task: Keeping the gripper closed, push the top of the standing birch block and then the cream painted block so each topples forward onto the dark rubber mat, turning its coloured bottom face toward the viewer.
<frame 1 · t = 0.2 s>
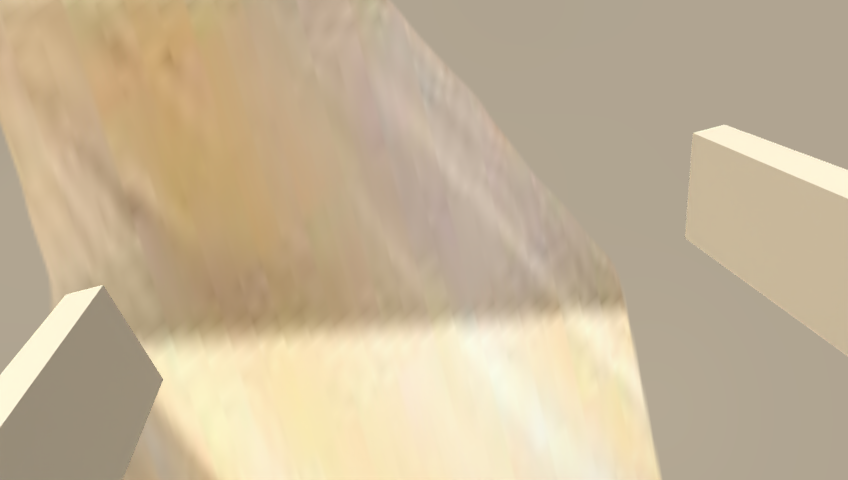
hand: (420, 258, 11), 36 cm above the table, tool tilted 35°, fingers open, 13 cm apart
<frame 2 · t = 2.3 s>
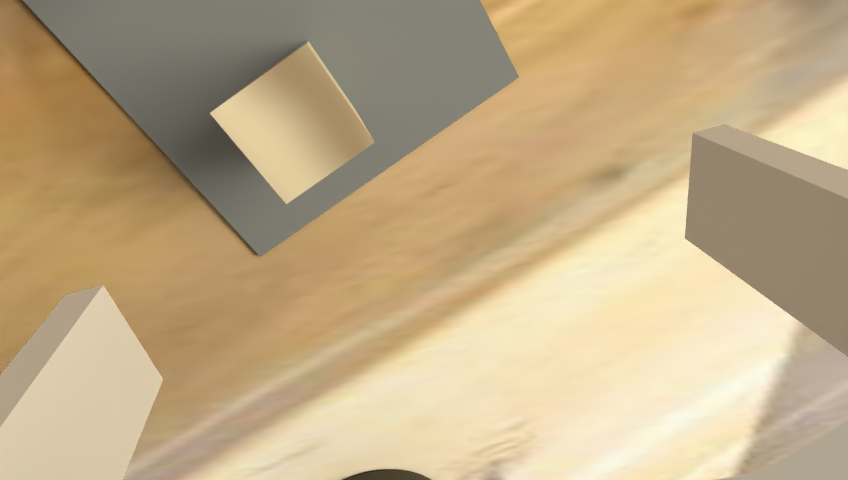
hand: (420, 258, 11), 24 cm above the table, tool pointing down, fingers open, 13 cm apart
birch block: (300, 98, 32), resting on rubber mat
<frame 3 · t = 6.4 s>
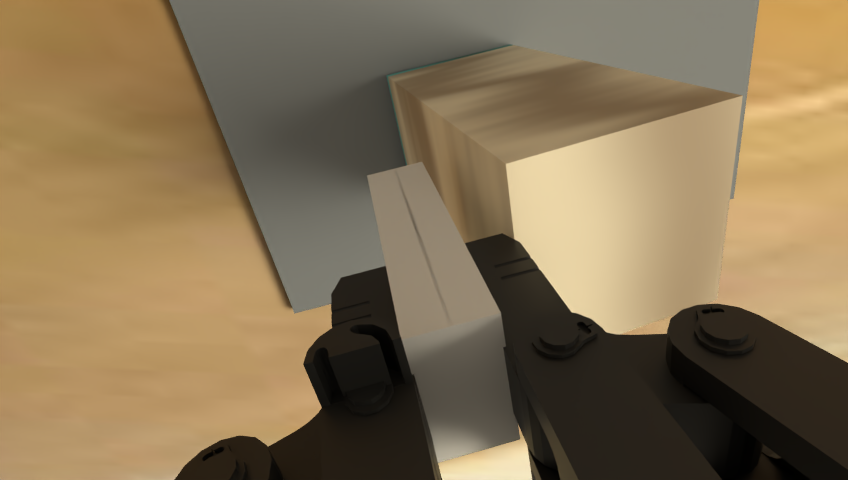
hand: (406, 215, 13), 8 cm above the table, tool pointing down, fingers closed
birch block: (459, 123, 20), point 1 cm above the table, tilted 5°, touching gripper, rubber mat
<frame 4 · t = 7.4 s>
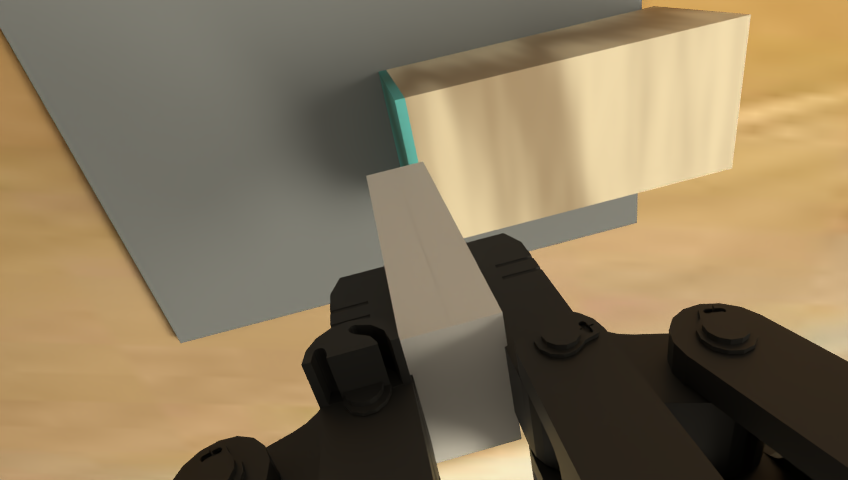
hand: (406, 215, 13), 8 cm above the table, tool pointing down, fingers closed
birch block: (401, 154, 18), point 3 cm above the table, tilted 90°, touching rubber mat
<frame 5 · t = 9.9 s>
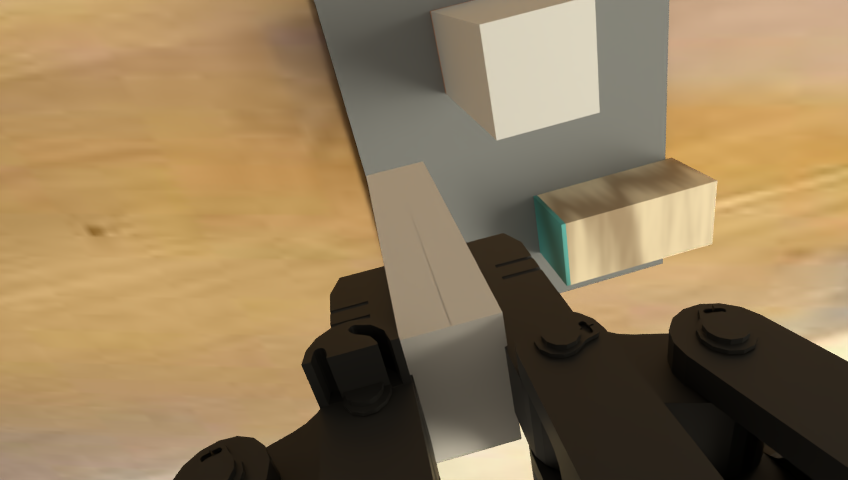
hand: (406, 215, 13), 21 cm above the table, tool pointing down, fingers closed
birch block: (549, 239, 36), point 3 cm above the table, tilted 90°, touching rubber mat
cream painted block: (476, 43, 31), resting on rubber mat
rubber mat: (517, 139, 35), on the table
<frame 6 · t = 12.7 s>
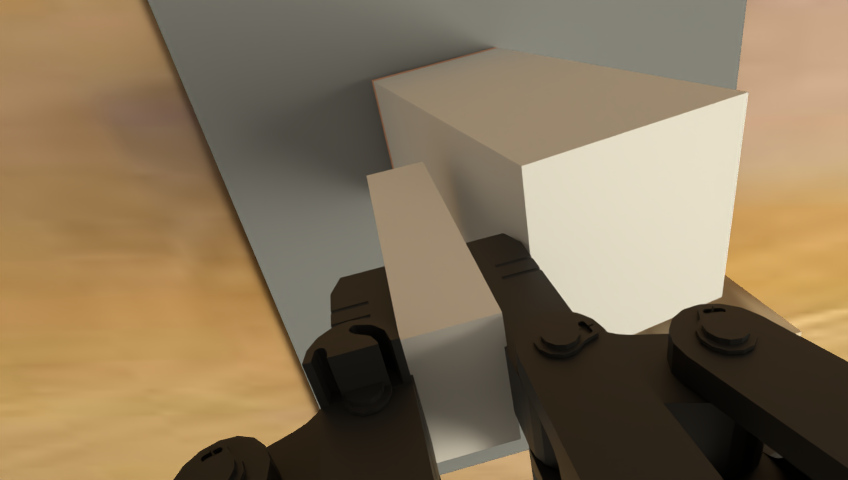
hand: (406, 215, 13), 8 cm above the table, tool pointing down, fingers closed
birch block: (549, 396, 25), point 3 cm above the table, tilted 90°, touching rubber mat
cream painted block: (445, 127, 20), point 1 cm above the table, tilted 9°, touching gripper, rubber mat
rubber mat: (505, 253, 24), on the table
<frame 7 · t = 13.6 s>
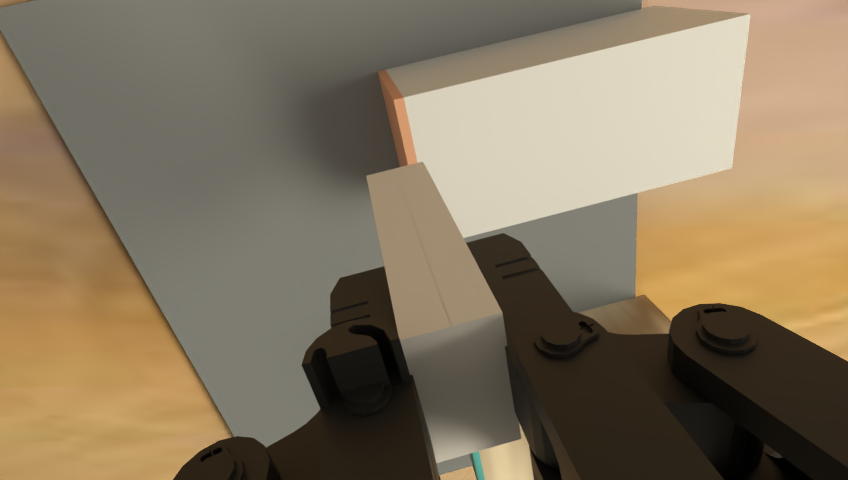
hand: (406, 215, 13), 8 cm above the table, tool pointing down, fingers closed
birch block: (461, 420, 24), point 3 cm above the table, tilted 90°, touching rubber mat
cream painted block: (400, 154, 18), point 3 cm above the table, tilted 90°, touching rubber mat
rubber mat: (413, 276, 23), on the table
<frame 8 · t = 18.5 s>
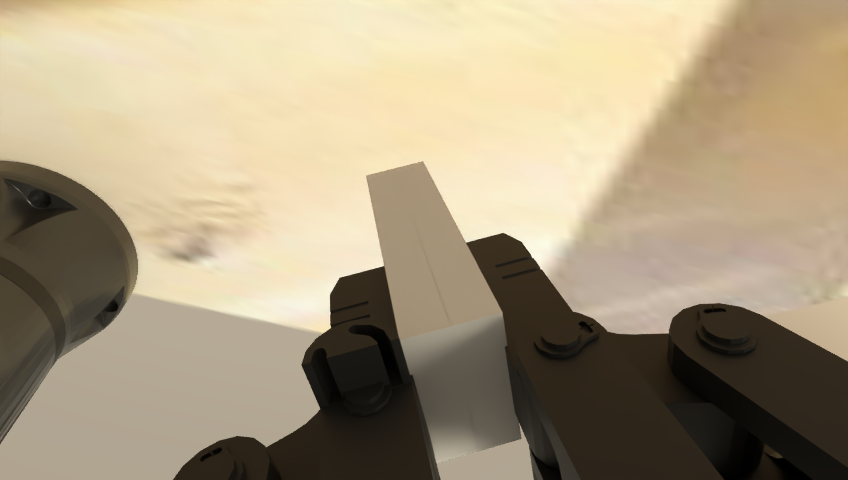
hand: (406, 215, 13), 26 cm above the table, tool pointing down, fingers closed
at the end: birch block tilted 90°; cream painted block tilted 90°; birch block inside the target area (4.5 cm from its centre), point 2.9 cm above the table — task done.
